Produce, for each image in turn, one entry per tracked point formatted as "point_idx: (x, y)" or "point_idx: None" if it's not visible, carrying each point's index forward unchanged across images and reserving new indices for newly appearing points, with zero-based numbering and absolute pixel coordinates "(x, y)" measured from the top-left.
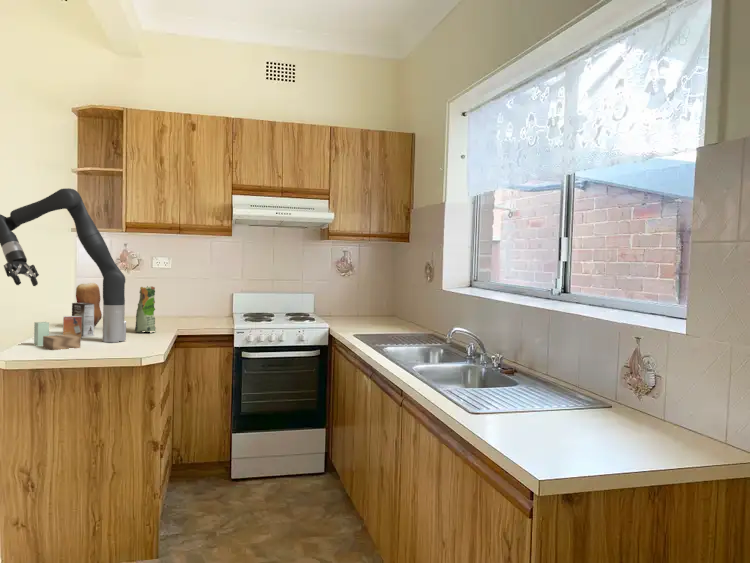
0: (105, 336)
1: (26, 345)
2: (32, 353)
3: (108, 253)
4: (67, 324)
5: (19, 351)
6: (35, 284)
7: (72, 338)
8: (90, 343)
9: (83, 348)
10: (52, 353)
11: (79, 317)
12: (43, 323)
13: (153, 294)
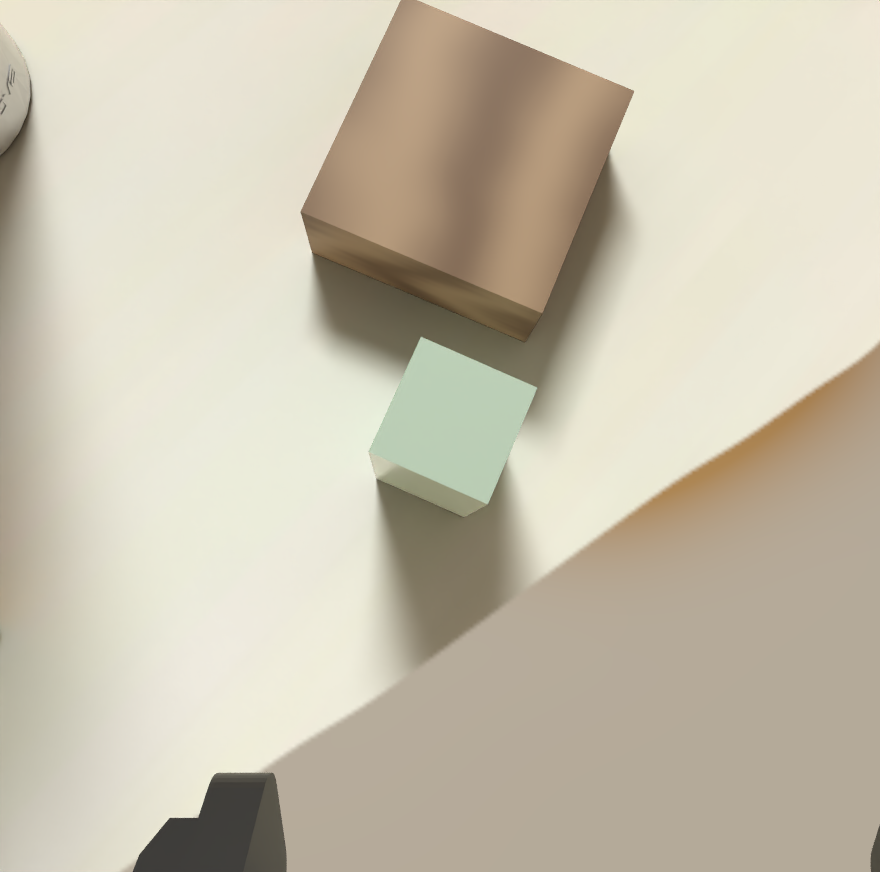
0: (3, 73)
1: (523, 544)
2: (803, 149)
3: None
4: None
5: (788, 309)
6: (277, 803)
7: (471, 29)
8: (147, 172)
9: None
10: (725, 29)
11: None
12: (478, 365)
13: None
